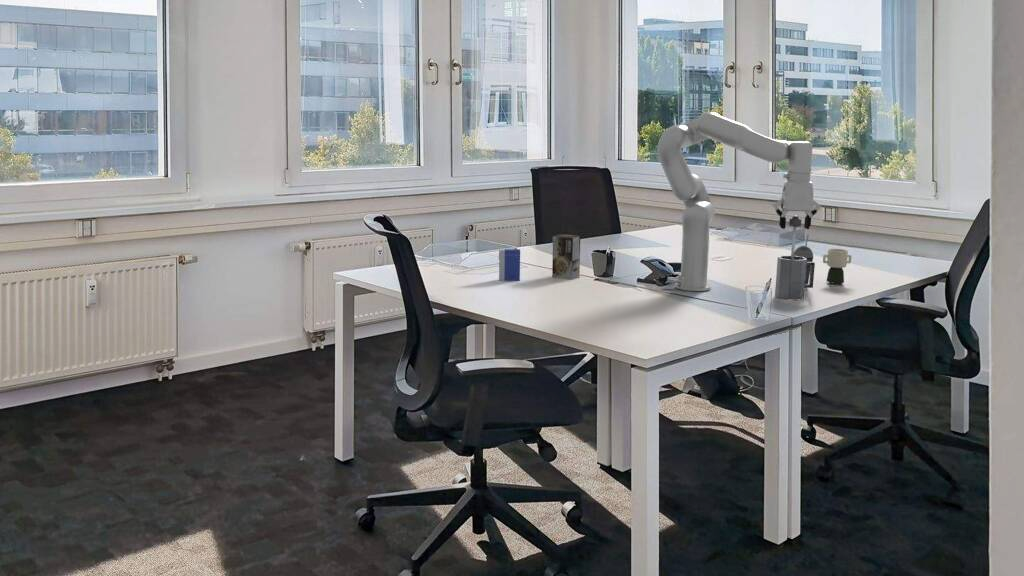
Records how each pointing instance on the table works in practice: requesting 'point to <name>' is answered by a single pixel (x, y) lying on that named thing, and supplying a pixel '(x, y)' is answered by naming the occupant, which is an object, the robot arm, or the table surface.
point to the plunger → (794, 232)
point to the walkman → (509, 264)
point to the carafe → (792, 277)
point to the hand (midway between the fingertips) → (794, 228)
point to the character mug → (836, 264)
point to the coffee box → (566, 256)
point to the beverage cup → (806, 253)
